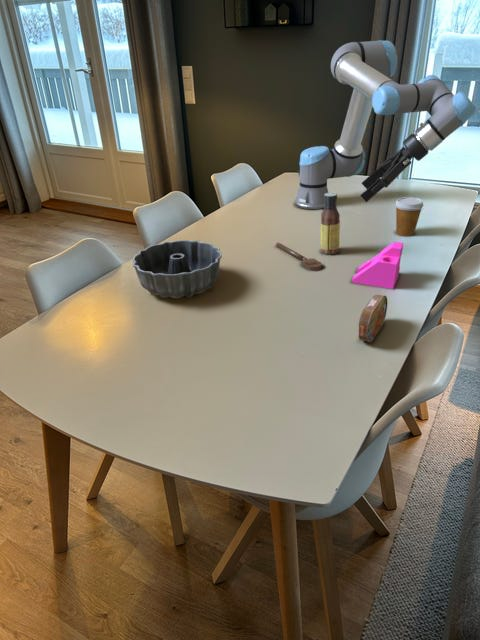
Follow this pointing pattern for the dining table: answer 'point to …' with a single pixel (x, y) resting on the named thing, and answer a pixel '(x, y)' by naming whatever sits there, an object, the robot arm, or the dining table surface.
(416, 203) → the disposable coffee cup
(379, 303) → the tin
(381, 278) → the bracket
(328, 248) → the sauce bottle
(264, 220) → the dining table surface
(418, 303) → the dining table surface
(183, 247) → the bundt pan
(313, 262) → the wooden spoon
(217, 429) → the dining table surface
